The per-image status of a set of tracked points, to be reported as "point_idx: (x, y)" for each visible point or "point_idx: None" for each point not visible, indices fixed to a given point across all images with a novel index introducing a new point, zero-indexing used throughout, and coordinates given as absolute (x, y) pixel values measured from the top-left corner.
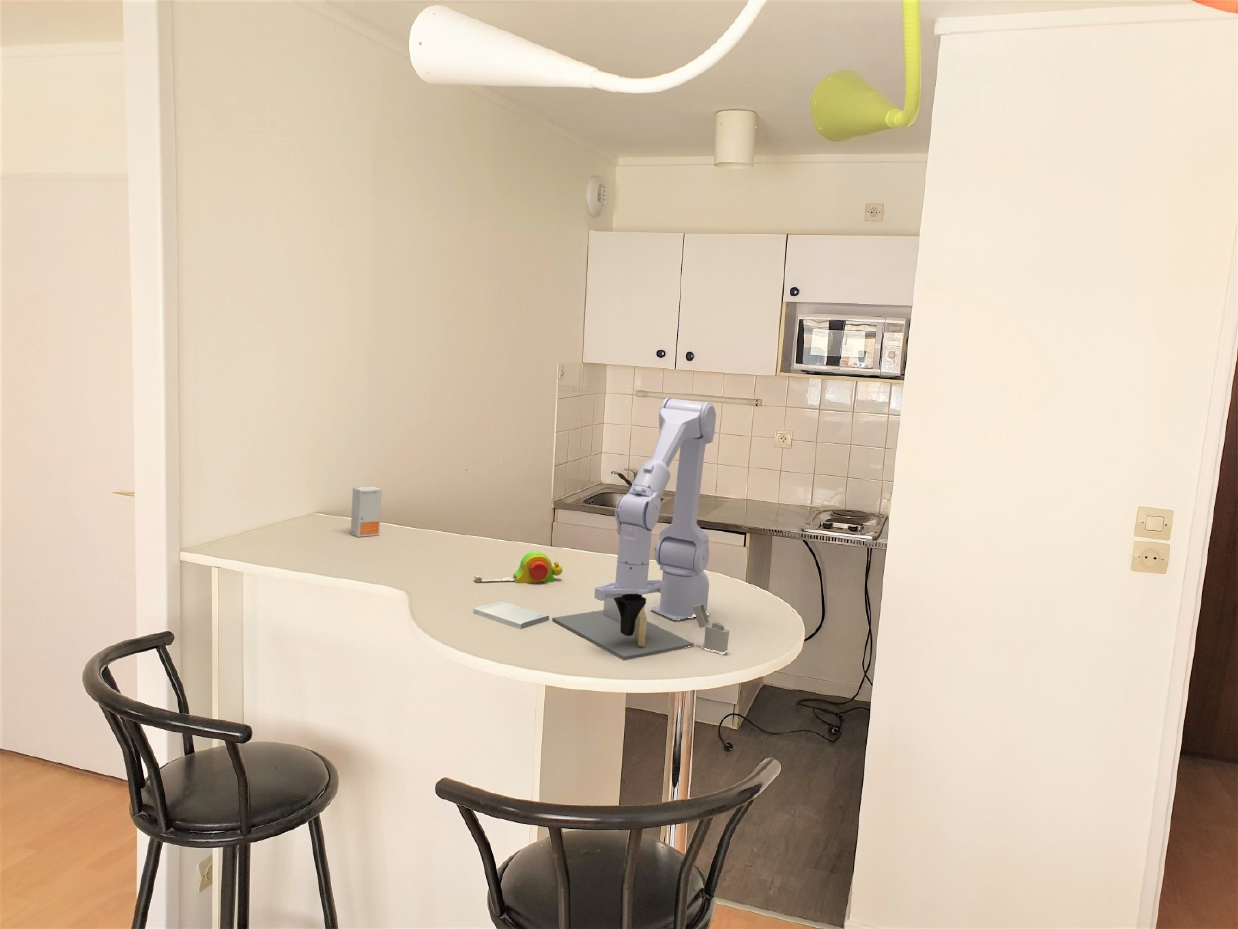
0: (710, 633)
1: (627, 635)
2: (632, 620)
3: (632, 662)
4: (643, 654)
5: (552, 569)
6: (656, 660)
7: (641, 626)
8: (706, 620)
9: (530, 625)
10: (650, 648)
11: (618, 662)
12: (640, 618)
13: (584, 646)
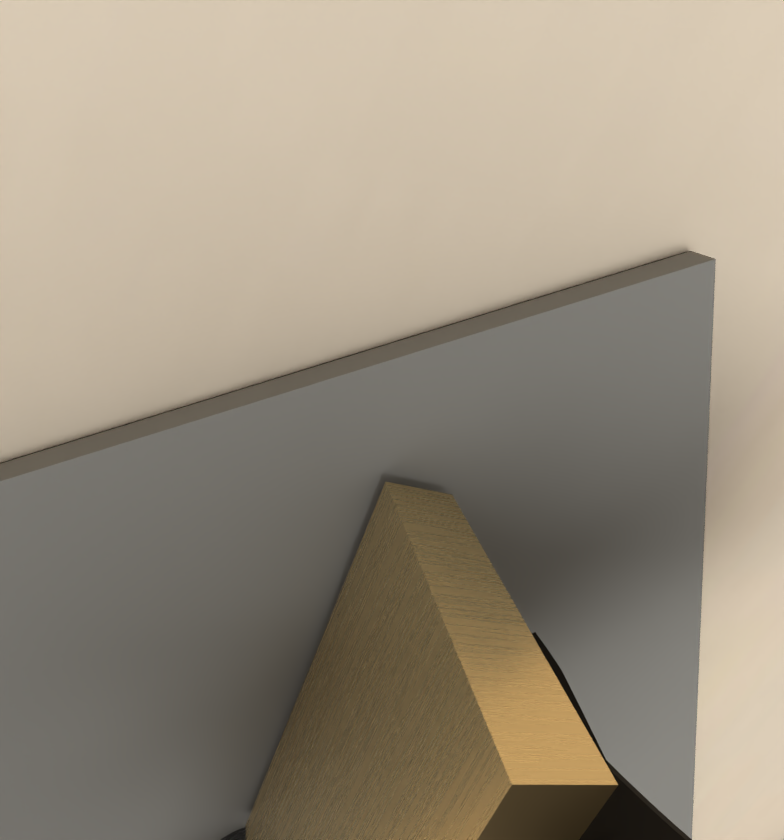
0: None
1: (539, 638)
2: (608, 803)
3: (643, 171)
4: (449, 336)
5: None
6: (345, 178)
7: (529, 673)
8: None
9: None
10: (315, 463)
11: (767, 201)
12: (585, 820)
13: (769, 577)
